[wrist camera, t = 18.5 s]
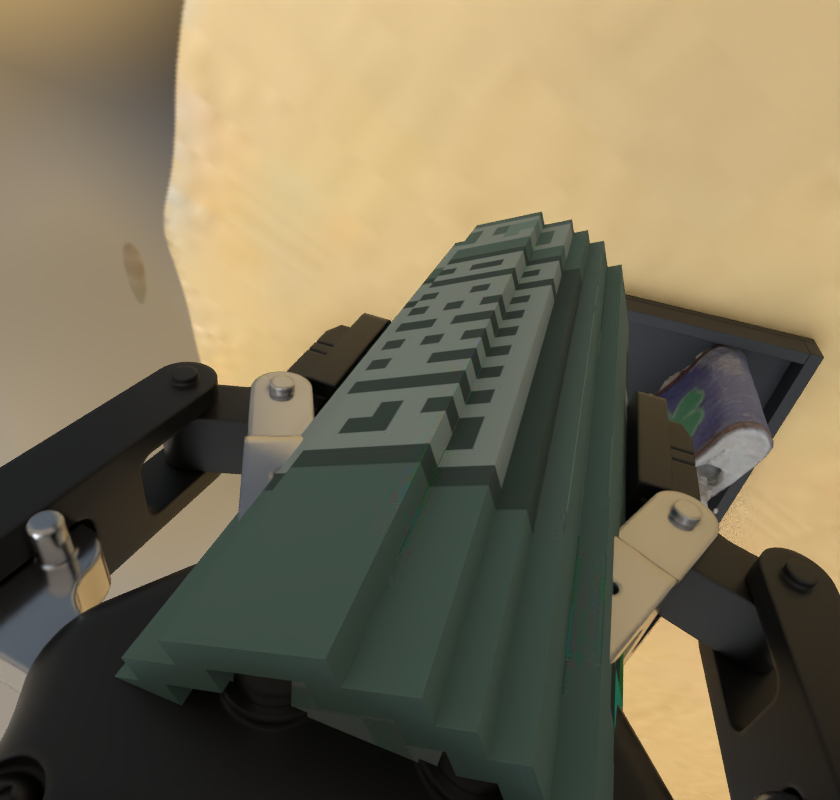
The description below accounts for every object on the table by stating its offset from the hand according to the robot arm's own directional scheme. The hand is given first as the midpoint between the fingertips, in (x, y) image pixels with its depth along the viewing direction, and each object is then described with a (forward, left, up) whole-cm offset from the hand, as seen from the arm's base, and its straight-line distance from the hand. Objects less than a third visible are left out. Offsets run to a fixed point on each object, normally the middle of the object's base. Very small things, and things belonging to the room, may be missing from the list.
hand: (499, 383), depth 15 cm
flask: (-10, +11, -21) cm, 26 cm away
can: (0, 0, -5) cm, 5 cm away
